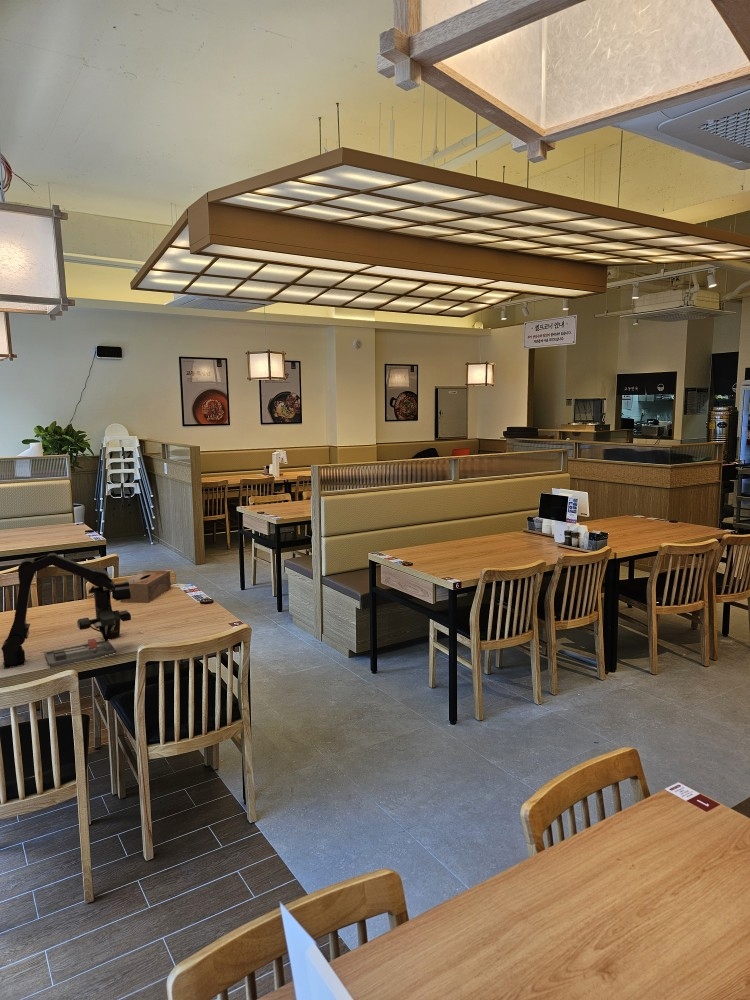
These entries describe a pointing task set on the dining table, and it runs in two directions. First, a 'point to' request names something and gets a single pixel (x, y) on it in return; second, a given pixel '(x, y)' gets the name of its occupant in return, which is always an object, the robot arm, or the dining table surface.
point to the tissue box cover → (147, 586)
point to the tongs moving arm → (68, 650)
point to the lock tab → (92, 643)
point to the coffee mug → (113, 630)
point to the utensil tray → (52, 663)
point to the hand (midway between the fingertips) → (106, 640)
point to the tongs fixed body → (79, 652)
